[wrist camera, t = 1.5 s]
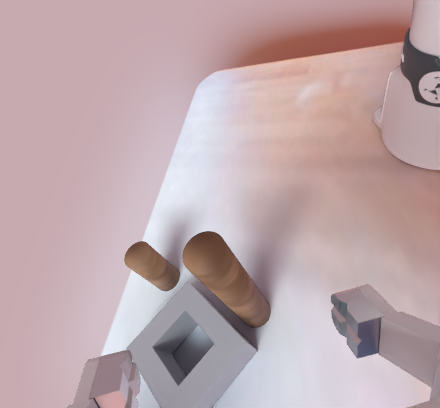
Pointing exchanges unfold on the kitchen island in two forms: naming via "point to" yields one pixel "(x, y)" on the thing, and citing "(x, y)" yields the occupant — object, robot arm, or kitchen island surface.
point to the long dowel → (225, 277)
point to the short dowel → (151, 266)
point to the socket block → (206, 368)
